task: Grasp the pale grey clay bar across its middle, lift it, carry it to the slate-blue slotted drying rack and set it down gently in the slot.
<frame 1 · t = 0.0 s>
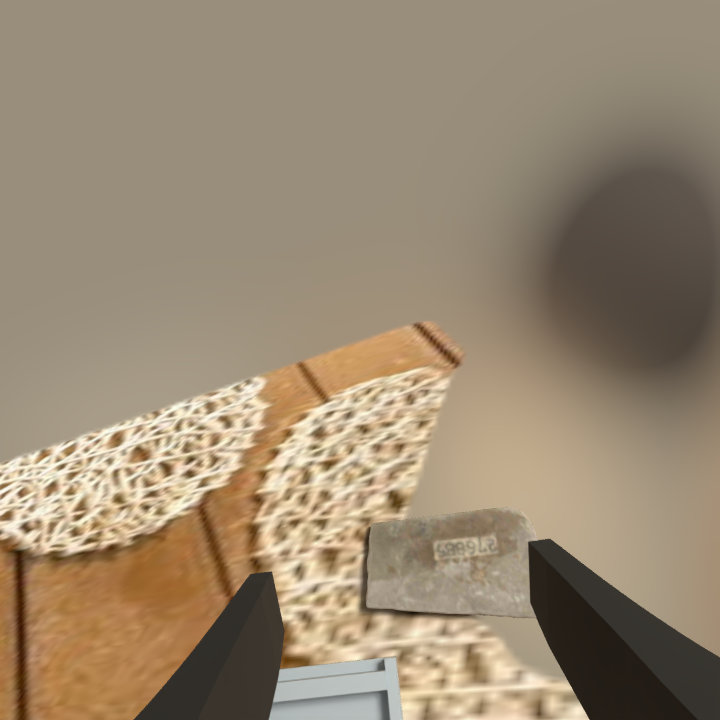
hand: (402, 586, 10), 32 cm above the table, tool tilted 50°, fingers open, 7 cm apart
stone: (451, 564, 39), on the table
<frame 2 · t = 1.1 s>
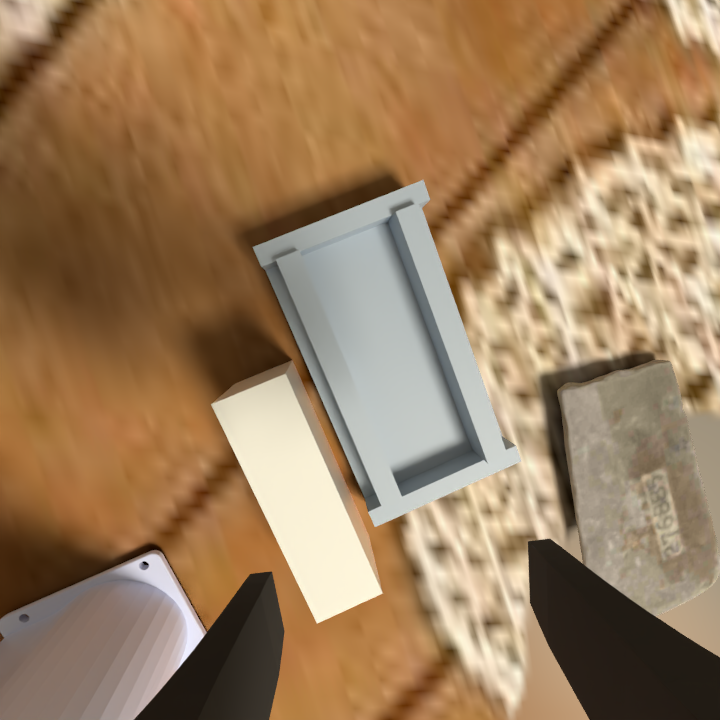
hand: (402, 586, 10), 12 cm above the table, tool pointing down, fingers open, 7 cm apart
clay bar: (305, 462, 22), on the table
rack: (388, 357, 22), on the table
stone: (618, 488, 25), on the table
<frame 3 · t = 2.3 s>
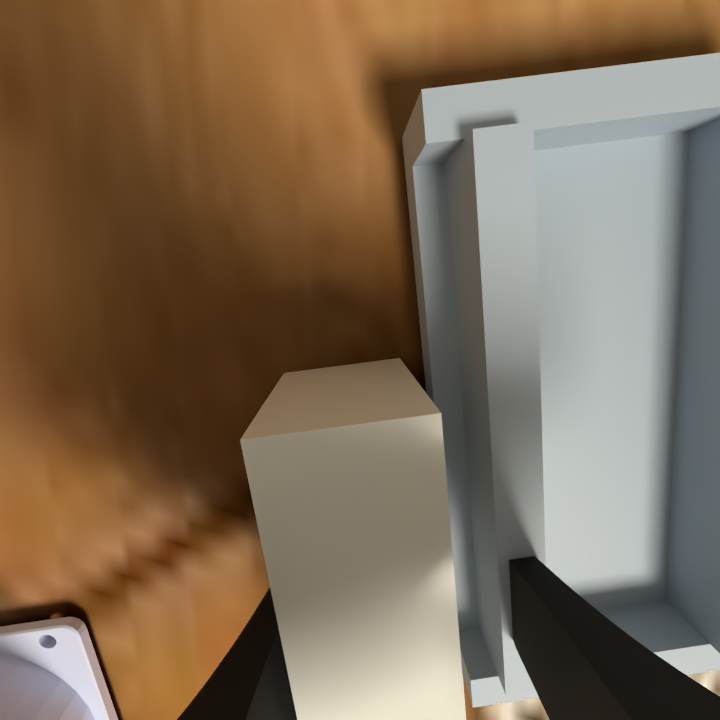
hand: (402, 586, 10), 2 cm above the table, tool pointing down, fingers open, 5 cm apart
clay bar: (365, 535, 12), on the table
rack: (570, 398, 12), on the table
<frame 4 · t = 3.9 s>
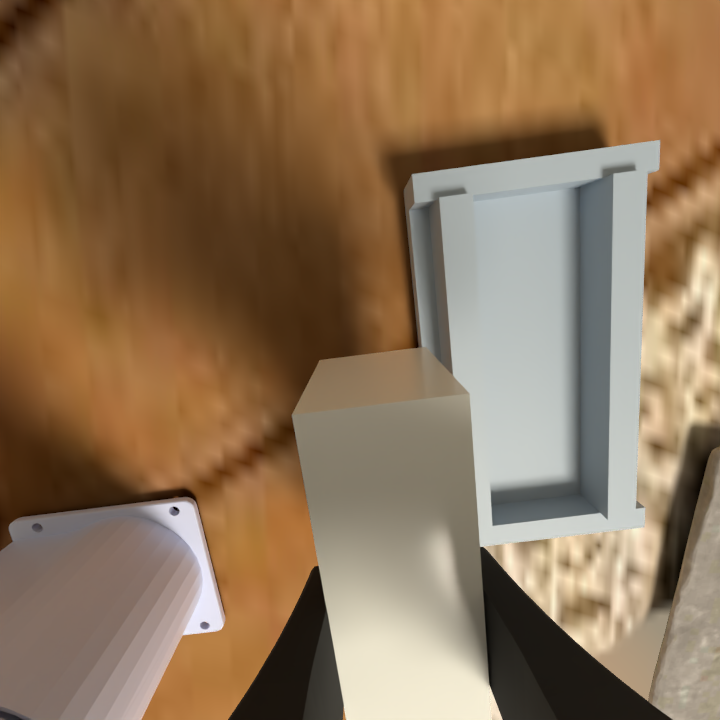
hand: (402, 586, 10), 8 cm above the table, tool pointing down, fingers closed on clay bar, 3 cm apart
clay bar: (392, 514, 13), point 5 cm above the table, touching gripper
rack: (515, 357, 18), on the table
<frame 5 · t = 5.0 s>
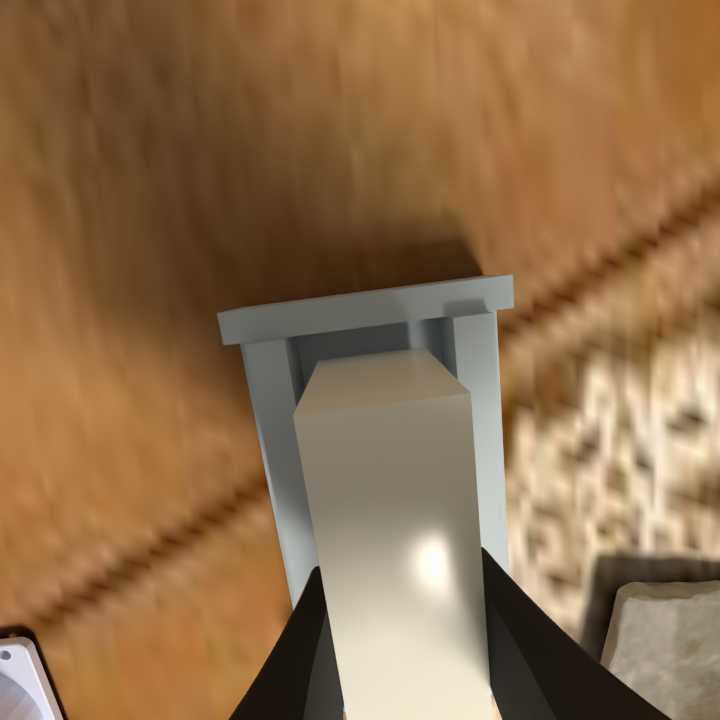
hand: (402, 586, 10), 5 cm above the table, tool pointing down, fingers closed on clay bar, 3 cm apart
clay bar: (391, 514, 13), point 2 cm above the table, touching gripper
rack: (386, 486, 15), on the table
stone: (648, 707, 19), on the table
when the fingers open (3 cm above the table, at t = 5.7 s): clay bar stays where it is, resting on rack.
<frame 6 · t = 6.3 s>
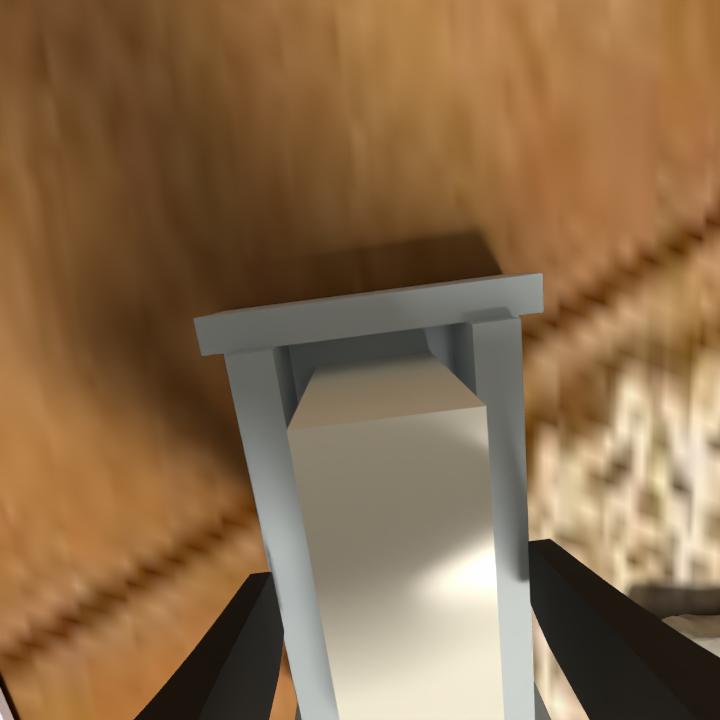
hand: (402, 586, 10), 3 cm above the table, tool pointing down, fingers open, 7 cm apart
clay bar: (394, 528, 13), point 1 cm above the table, touching rack
rack: (391, 511, 14), on the table
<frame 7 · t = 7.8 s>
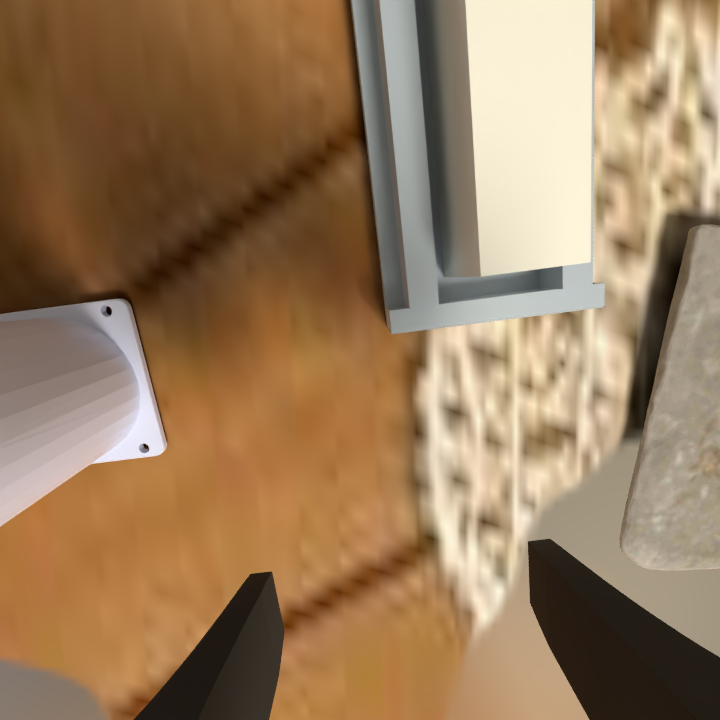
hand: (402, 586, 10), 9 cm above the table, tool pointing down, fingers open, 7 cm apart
clay bar: (475, 125, 15), point 1 cm above the table, touching rack
rack: (467, 135, 16), on the table
stone: (704, 405, 20), on the table
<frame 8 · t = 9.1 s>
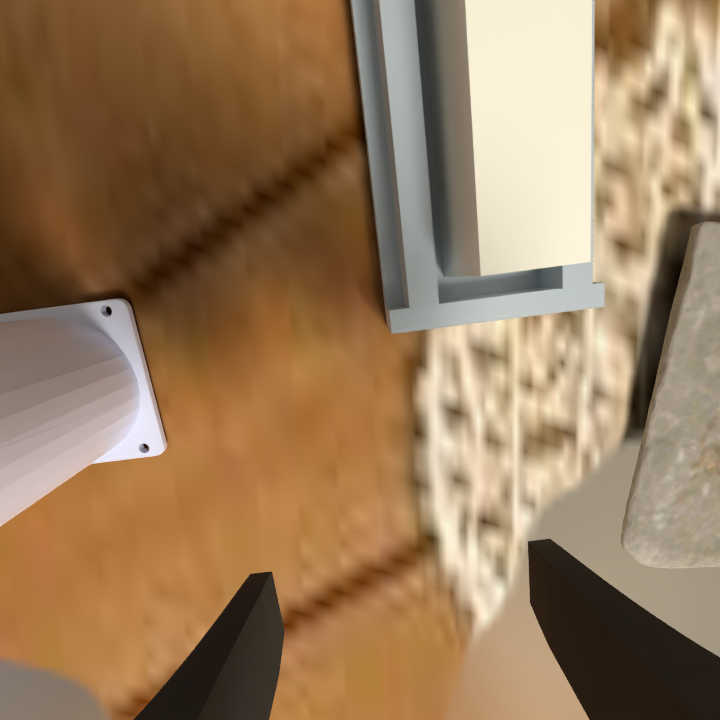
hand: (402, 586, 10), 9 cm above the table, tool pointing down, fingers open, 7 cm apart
clay bar: (474, 125, 15), point 1 cm above the table, touching rack
rack: (467, 135, 16), on the table
stone: (706, 402, 20), on the table
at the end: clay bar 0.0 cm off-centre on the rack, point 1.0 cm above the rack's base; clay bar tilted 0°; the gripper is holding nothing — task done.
